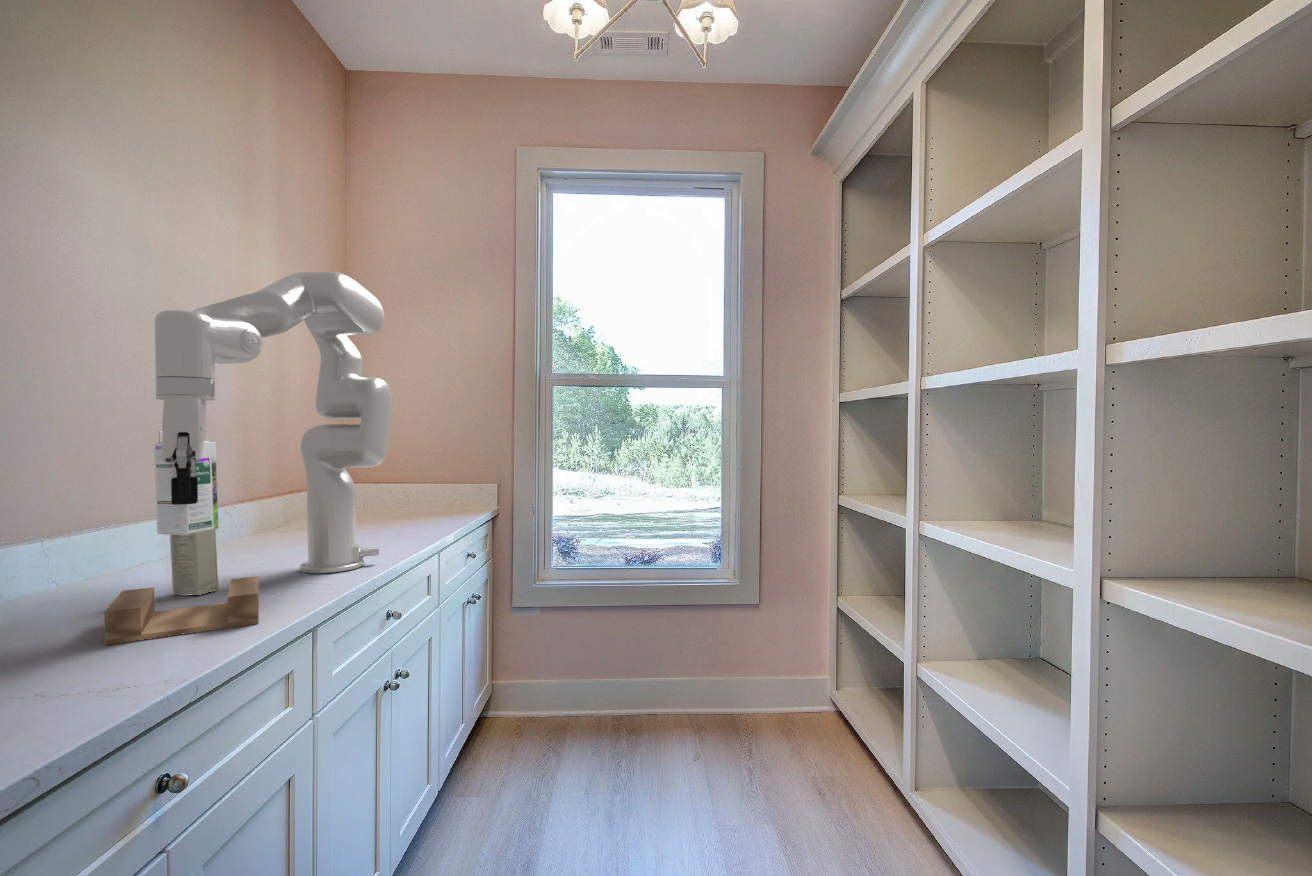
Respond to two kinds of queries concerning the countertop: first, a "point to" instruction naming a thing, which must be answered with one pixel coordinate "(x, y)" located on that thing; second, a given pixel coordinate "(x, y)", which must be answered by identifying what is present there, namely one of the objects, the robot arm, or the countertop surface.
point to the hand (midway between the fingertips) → (187, 500)
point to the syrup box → (187, 515)
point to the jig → (179, 614)
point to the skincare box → (194, 563)
